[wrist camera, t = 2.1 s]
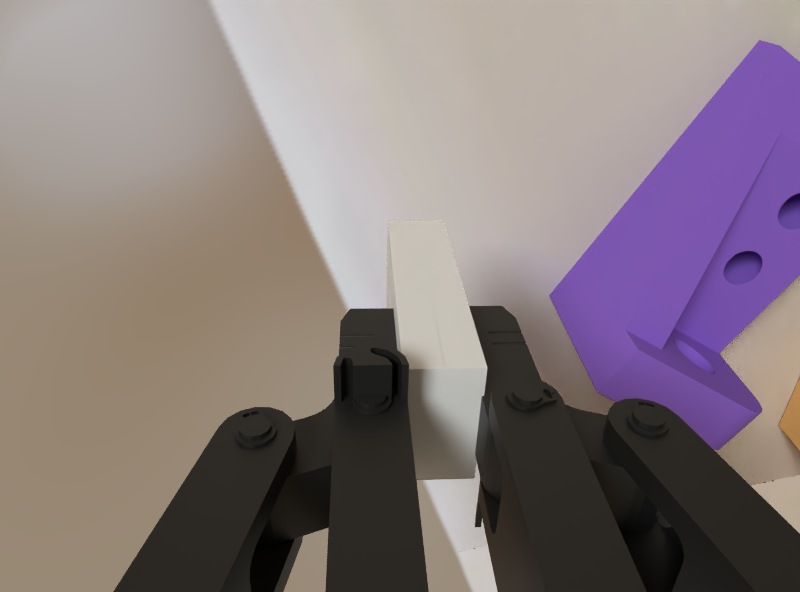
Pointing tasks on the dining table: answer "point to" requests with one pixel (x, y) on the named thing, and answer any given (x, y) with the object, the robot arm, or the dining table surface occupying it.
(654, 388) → the bracket
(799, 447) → the sleeve
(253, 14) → the dining table surface
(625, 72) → the dining table surface
